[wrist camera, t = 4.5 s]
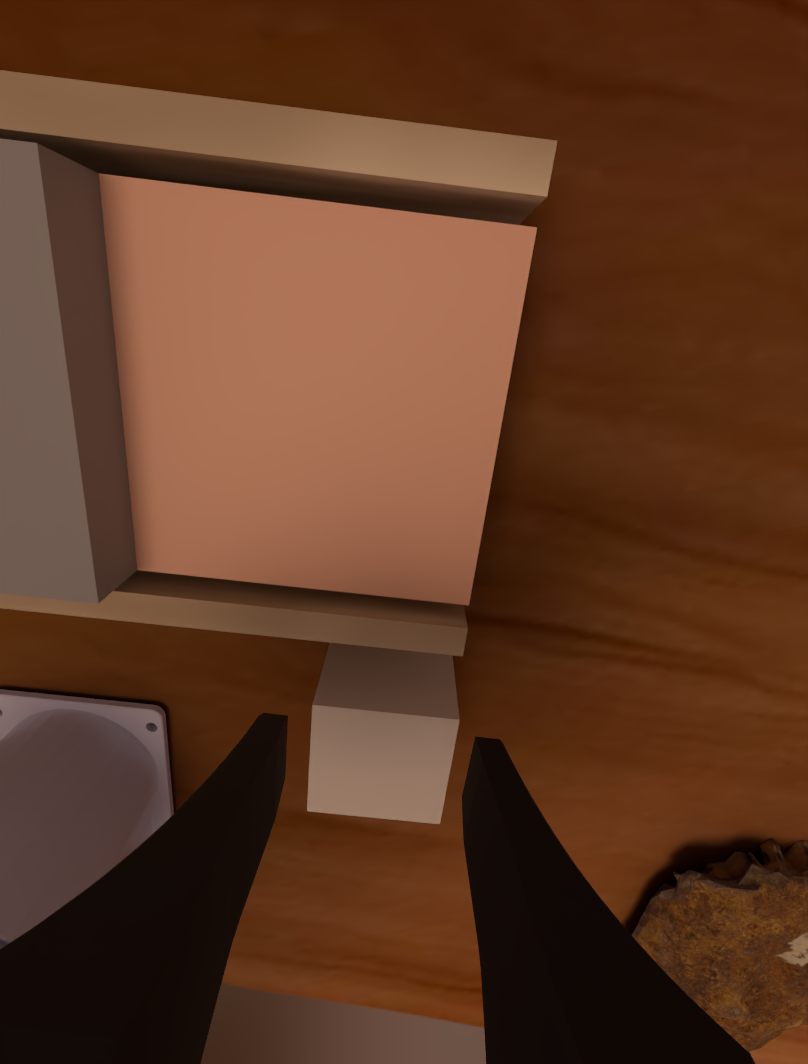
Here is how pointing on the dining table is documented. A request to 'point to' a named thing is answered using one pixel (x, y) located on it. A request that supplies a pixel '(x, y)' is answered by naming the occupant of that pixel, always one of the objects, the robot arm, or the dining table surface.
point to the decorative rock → (737, 940)
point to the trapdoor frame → (293, 171)
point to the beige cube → (382, 733)
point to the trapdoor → (245, 385)
